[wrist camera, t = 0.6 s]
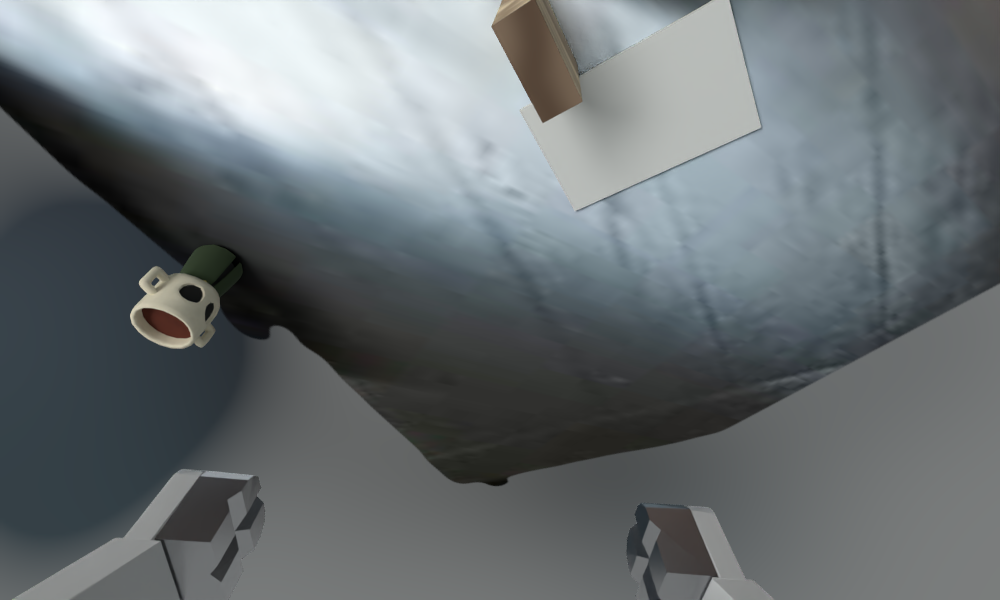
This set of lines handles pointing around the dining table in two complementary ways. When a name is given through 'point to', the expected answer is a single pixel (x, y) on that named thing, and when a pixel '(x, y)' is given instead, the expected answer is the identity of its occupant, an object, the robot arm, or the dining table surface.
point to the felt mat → (651, 107)
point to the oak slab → (539, 55)
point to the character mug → (185, 298)
